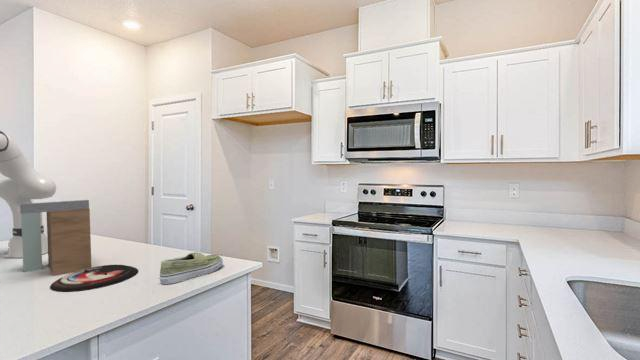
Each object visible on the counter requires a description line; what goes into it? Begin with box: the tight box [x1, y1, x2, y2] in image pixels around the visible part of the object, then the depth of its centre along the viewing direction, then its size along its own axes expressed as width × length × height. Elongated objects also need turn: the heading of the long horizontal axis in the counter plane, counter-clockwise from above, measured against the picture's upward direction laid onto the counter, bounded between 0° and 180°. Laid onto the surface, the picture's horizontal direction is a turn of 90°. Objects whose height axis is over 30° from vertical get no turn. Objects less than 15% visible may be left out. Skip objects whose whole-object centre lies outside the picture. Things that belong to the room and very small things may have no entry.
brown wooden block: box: [45, 208, 92, 276], centre depth 147 cm, size 22×13×26 cm, turn 43°
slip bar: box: [20, 199, 90, 214], centre depth 137 cm, size 4×22×4 cm, turn 133°
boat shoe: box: [159, 251, 224, 285], centre depth 136 cm, size 10×29×9 cm, turn 151°
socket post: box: [21, 212, 43, 273], centre depth 144 cm, size 8×6×26 cm
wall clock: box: [50, 264, 139, 293], centre depth 132 cm, size 27×5×30 cm
